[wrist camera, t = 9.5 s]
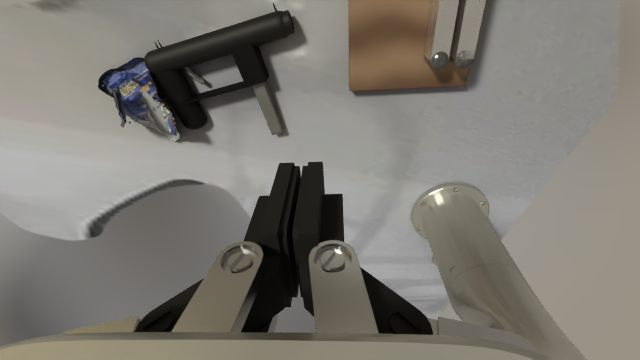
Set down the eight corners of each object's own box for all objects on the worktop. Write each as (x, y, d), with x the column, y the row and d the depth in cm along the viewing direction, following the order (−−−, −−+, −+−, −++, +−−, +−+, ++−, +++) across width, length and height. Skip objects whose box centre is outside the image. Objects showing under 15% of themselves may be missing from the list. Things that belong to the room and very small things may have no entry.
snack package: (122, 135, 48) (196, 141, 47) (92, 147, 42) (175, 155, 42) (106, 53, 43) (188, 59, 43) (69, 53, 37) (163, 61, 37)
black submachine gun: (321, 125, 43) (282, -2, 34) (195, 155, 46) (129, 48, 37) (321, 115, 46) (286, -5, 36) (202, 144, 49) (142, 42, 40)
